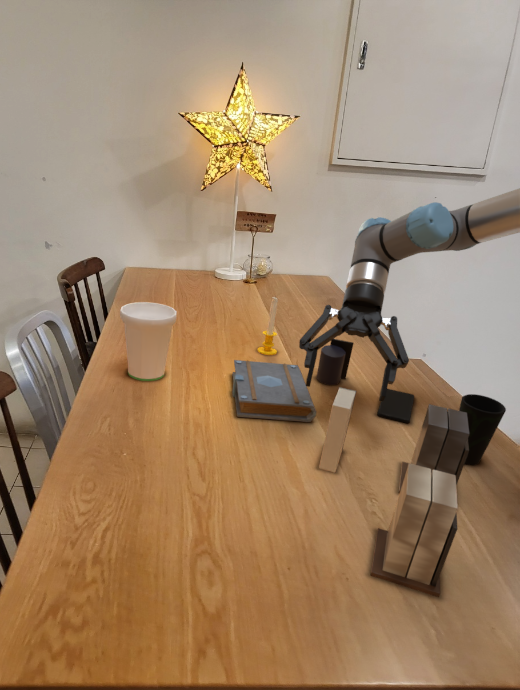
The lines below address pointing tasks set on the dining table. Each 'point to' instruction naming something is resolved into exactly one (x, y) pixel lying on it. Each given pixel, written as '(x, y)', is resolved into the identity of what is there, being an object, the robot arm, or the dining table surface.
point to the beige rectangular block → (337, 429)
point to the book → (271, 392)
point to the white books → (418, 531)
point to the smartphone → (396, 406)
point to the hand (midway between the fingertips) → (344, 391)
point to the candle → (270, 331)
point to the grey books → (441, 442)
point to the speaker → (334, 362)
